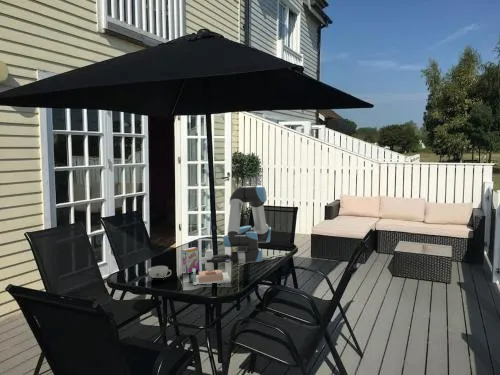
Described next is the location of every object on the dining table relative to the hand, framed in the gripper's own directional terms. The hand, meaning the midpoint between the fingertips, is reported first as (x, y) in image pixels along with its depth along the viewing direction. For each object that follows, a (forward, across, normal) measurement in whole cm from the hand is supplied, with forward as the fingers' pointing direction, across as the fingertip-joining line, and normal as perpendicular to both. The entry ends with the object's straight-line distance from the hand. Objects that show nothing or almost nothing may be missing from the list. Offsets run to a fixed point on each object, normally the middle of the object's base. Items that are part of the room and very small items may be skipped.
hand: (201, 260), depth 267 cm
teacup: (+27, +10, -13) cm, 31 cm away
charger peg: (-5, 0, -7) cm, 9 cm away
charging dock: (-5, 0, -13) cm, 14 cm away
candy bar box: (+7, +23, -13) cm, 27 cm away
